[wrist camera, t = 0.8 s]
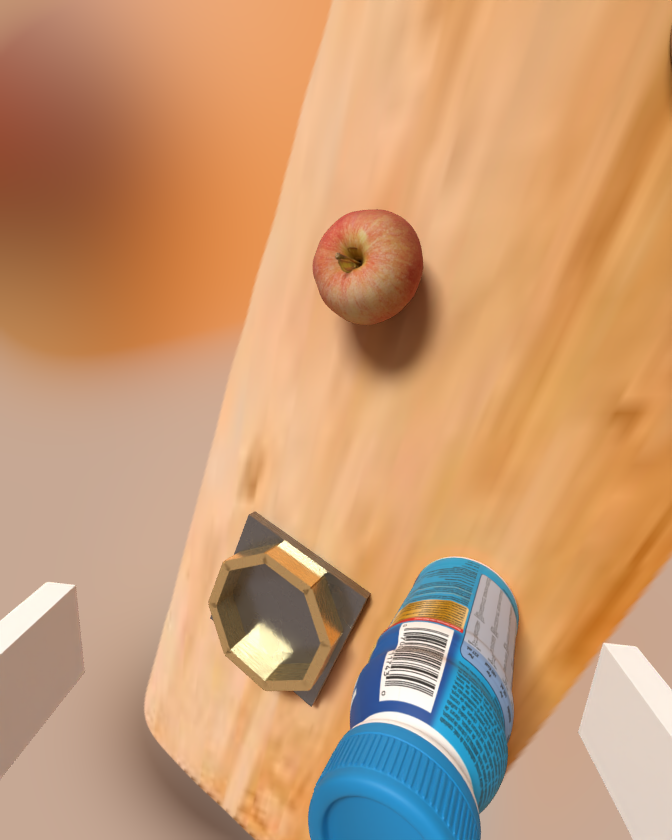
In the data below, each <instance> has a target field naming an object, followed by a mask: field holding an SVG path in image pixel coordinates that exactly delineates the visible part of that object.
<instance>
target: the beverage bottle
mask: <svg viewBox="0 0 672 840" xmlns="http://www.w3.org/2000/svg"><path fill="white" fill-rule="evenodd" d="M518 621H519V614H518V607H517V603H516V600H515V597H514V595H513V593H512V591H511V589H510V588H509V586H508V585H507V583H506V582H505V581H504V580H503V579H502V578H501V577H500V576H499V575H498V574H497V573H496V572H495V571H494V570H492V569H491V568H490V567H488V566H486V565H485V564H483V563H481V562H479V561H476V560H473V559H470V558H466V557H458V556H452V557H445V558H441V559H438V560H436V561H434V562H432V563H430V564H429V565H427V566H426V567H425V568H424V569H423V570H422V571H421V573H420V574H419V576H418V577H417V579H416V581H415V583H414V585H413V588H412V589H411V591H410V593H409V594H408V596H407V598H406V599H405V601H404V603H403V604H402V606H401V608H400V609H399V611H398V613H397V614H396V616H395V617H394V619H393V621H392V622H391V624H390V626H389V627H388V629H387V630H385V631H384V632H383V634H382V635H381V636H380V637H379V639H378V640H377V642H376V644H375V645H374V647H373V650H372V652H371V654H370V657H369V660H368V664H367V665H366V666H365V667H364V669H363V670H362V672H361V673H360V675H359V677H358V679H357V682H356V684H355V687H354V691H353V696H352V702H351V710H350V731H348V732H347V733H346V734H345V735H344V737H343V738H342V739H341V740H340V742H339V744H338V745H337V747H336V749H335V751H334V752H333V754H332V756H331V758H330V759H329V761H328V763H327V765H326V767H325V769H324V771H323V772H322V774H321V776H320V778H319V780H318V782H317V783H316V787H315V788H314V793H313V796H312V799H311V802H310V806H309V814H308V825H309V833H310V838H311V840H480V838H481V827H480V819H479V814H480V813H481V812H482V811H483V810H484V809H485V808H486V807H487V806H488V804H489V803H490V802H491V801H492V799H493V798H494V796H495V794H496V793H497V791H498V789H499V787H500V785H501V783H502V781H503V778H504V775H505V771H506V767H507V760H508V747H507V743H508V741H509V738H510V735H511V731H512V725H513V718H514V702H513V696H512V678H513V665H514V651H515V639H516V635H517V630H518Z"/></svg>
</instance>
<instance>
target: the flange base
mask: <svg viewBox="0 0 672 840" xmlns="http://www.w3.org/2000/svg"><path fill="white" fill-rule="evenodd" d="M370 594H371V593H369V592H368V591H366V590H365V589H364V588H362V587H361V586H359V585H358V584H356V583H355V582H354V581H352V580H351V579H349V578H348V577H347V576H345V575H344V574H342V573H341V572H340V571H338V570H337V569H335V568H334V567H332V566H331V565H330V564H328V563H327V562H325V561H324V560H323V559H321V558H320V557H318V556H317V555H316V554H314V553H313V552H311V551H310V550H309V549H307V548H306V547H304V546H303V545H301V544H300V543H299V542H297V541H296V540H294V539H293V538H292V537H290V536H289V535H287V534H286V533H285V532H283V531H282V530H280V529H279V528H278V527H276V526H275V525H273V524H272V523H270V522H269V521H268V520H266V519H265V518H263V517H262V516H261V515H259V514H258V513H256V512H253V513H251V514H249V516H248V518H247V521H246V524H245V526H244V529H243V532H242V535H241V537H240V540H239V543H238V545H237V548H236V551H235V553H234V555H233V556H232V557H230V558H228V559H227V560H225V561H224V562H223V563H222V566H221V569H220V571H219V574H218V577H217V580H216V582H215V585H214V588H213V591H212V593H211V596H210V599H209V602H208V603H209V604H208V605H209V608H210V611H211V614H212V615H211V618H210V619H212V620H213V621H214V624H215V627H216V630H217V633H218V636H219V639H220V643H221V646H222V649H223V652H224V654H225V656H226V657H228V658H229V659H230V660H231V661H232V662H233V663H234V664H235V665H236V666H238V667H239V668H240V669H241V670H242V671H243V672H244V673H245V674H246V675H247V676H249V677H250V678H251V679H252V680H253V681H254V682H255V683H256V684H257V685H259V686H260V687H261V688H262V689H263V690H265V691H294V692H295V693H296V694H297V695H298V696H299V697H301V698H302V699H303V700H304V701H305V702H306V703H307V704H309V705H310V706H311V707H312V705H313V704H314V702H315V701H316V699H317V697H318V695H319V693H320V691H321V690H322V688H323V686H324V684H325V682H326V680H327V678H328V676H329V674H330V672H331V670H332V668H333V666H334V664H335V662H336V660H337V658H338V656H339V654H340V652H341V650H342V648H343V647H344V645H345V643H346V641H347V639H348V637H349V635H350V633H351V631H352V629H353V627H354V625H355V623H356V621H357V619H358V617H359V615H360V613H361V611H362V609H363V607H364V605H365V604H366V602H367V600H368V598H369V596H370Z"/></svg>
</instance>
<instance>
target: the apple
mask: <svg viewBox="0 0 672 840" xmlns="http://www.w3.org/2000/svg"><path fill="white" fill-rule="evenodd" d="M422 271H423V257H422V250H421V245H420V241H419V239H418V236H417V234H416V232H415V231H414V229H413V228H412V226H411V225H410V224H409V223H408V222H407V221H406V220H405V219H403V218H402V217H400V216H398V215H396V214H394V213H392V212H389V211H385V210H362V211H355V212H351V213H349V214H347V215H344V216H343V217H341V218H340V219H339V220H337V221H336V222H335V223H334V224H333V225H332V226H331V227H330V228H329V229H328V230H327V232H326V233H325V234H324V236H323V237H322V239H321V241H320V243H319V245H318V248H317V251H316V254H315V257H314V260H313V274H314V278H315V281H316V284H317V287H318V290H319V293H320V295H321V297H322V299H323V301H324V302H325V304H326V305H327V306H328V307H329V308H330V309H331V310H332V311H334V312H335V313H336V314H338V315H339V316H340V317H342V318H344V319H345V320H347V321H349V322H352V323H355V324H359V325H372V324H376V323H380V322H382V321H385V320H387V319H389V318H391V317H393V316H395V315H396V314H398V313H399V312H400V311H401V310H402V309H403V308H404V307H405V306H406V305H407V304H408V303H409V301H410V300H411V299H412V298H413V296H414V294H415V293H416V290H417V288H418V285H419V283H420V279H421V276H422Z"/></svg>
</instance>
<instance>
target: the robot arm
mask: <svg viewBox="0 0 672 840" xmlns="http://www.w3.org/2000/svg"><path fill="white" fill-rule="evenodd" d="M670 50H671V60H672V28H671V39H670ZM84 672H85V671H84V662H83V652H82V642H81V632H80V622H79V614H78V603H77V593H76V585H70V584H61V583H52V582H46V583H45V584H44V585H43V586H41V587H40V588H39V589H38V590H37V591H35V592H34V593H33V594H32V595H31V596H29V597H28V598H27V599H26V600H25V601H24V602H23V603H21V604H20V605H19V606H17V607H16V608H15V609H14V610H13V611H11V612H10V613H9V614H8V615H7V616H5V617H4V618H3V619H2V620H1V621H0V779H1V778H2V776H3V775H4V774H5V773H6V771H7V770H8V769H9V768H10V766H11V765H12V764H13V763H14V761H15V760H16V759H17V757H18V756H19V755H20V754H21V752H22V751H23V750H24V748H25V747H26V746H27V745H28V743H29V742H30V741H31V740H32V738H33V737H34V736H35V734H36V733H37V732H38V731H39V730H40V728H41V727H42V726H43V724H44V723H45V722H46V720H48V718H49V717H50V716H51V714H52V713H53V712H54V711H55V709H56V708H57V707H58V706H59V704H60V703H61V702H62V701H63V699H64V698H65V697H66V695H67V694H68V693H69V692H70V690H71V689H72V688H73V687H74V685H75V684H76V683H77V682H78V680H79V679H80V678H81V676H82V675H83V674H84ZM578 733H579V735H580V737H581V739H582V741H583V742H584V744H585V746H586V748H587V750H588V752H589V754H590V756H591V758H592V760H593V762H594V764H595V766H596V768H597V770H598V772H599V774H600V776H601V777H602V780H603V782H604V784H605V786H606V788H607V789H608V792H609V793H610V795H611V797H612V799H613V801H614V803H615V805H616V807H617V809H618V811H619V813H620V815H621V817H622V819H623V821H624V823H625V825H626V827H627V829H628V831H629V833H630V835H631V837H632V838H633V840H672V690H671V688H670V687H669V686H668V685H667V684H666V682H665V681H664V680H663V679H662V678H661V676H660V675H659V674H658V673H657V671H656V670H655V669H654V668H653V666H652V665H651V664H650V663H649V661H648V660H647V659H646V658H645V657H644V655H643V654H642V653H641V652H640V651H639V649H638V648H637V647H635V646H627V645H618V644H609V643H603V645H602V649H601V653H600V656H599V660H598V664H597V667H596V671H595V674H594V678H593V681H592V685H591V689H590V692H589V696H588V699H587V703H586V706H585V710H584V714H583V717H582V721H581V725H580V728H579V732H578Z"/></svg>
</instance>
